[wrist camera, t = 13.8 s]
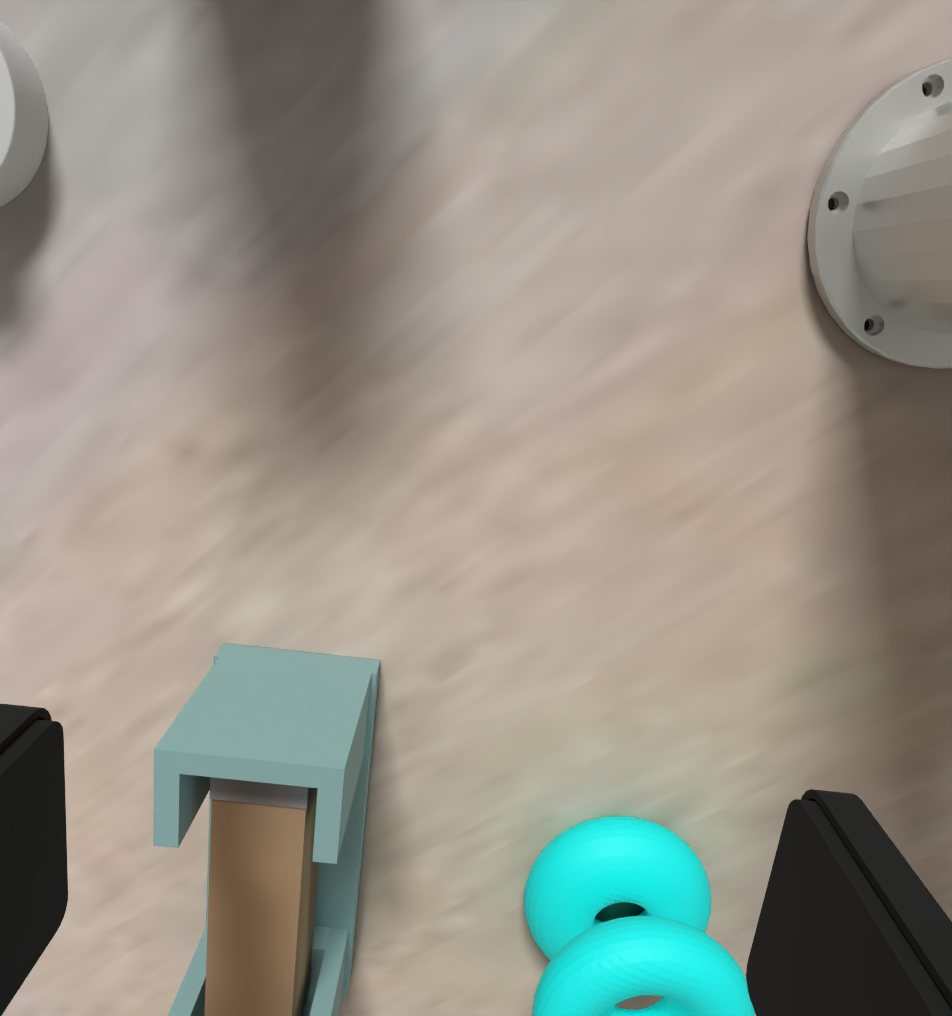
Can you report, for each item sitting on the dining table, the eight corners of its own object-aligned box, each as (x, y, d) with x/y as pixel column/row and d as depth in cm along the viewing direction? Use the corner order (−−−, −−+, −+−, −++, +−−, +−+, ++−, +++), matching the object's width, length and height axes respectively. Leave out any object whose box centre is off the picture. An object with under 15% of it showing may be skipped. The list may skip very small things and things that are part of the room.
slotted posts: (380, 660, 41) (350, 769, 31) (351, 972, 46) (319, 1143, 37) (223, 643, 40) (147, 748, 31) (213, 958, 46) (146, 1127, 37)
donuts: (586, 926, 33) (803, 993, 34) (562, 781, 42) (732, 836, 43) (502, 1099, 35) (706, 1156, 36) (497, 925, 45) (659, 974, 46)
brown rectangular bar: (330, 720, 38) (308, 784, 33) (310, 984, 42) (287, 1075, 37) (245, 710, 38) (210, 774, 33) (233, 976, 42) (201, 1067, 37)
